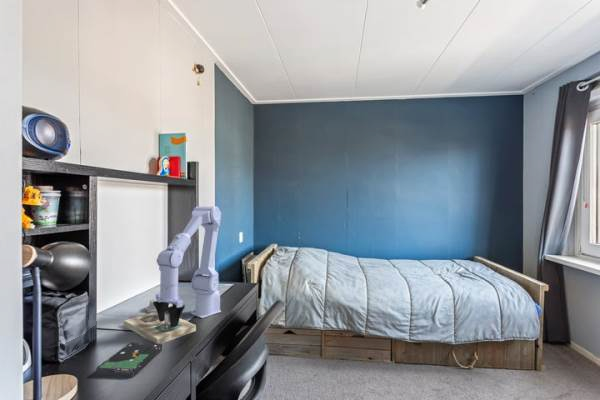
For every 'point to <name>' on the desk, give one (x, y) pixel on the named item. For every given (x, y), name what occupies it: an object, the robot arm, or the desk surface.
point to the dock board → (158, 328)
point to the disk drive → (129, 360)
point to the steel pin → (167, 320)
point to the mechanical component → (151, 307)
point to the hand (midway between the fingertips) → (168, 323)
